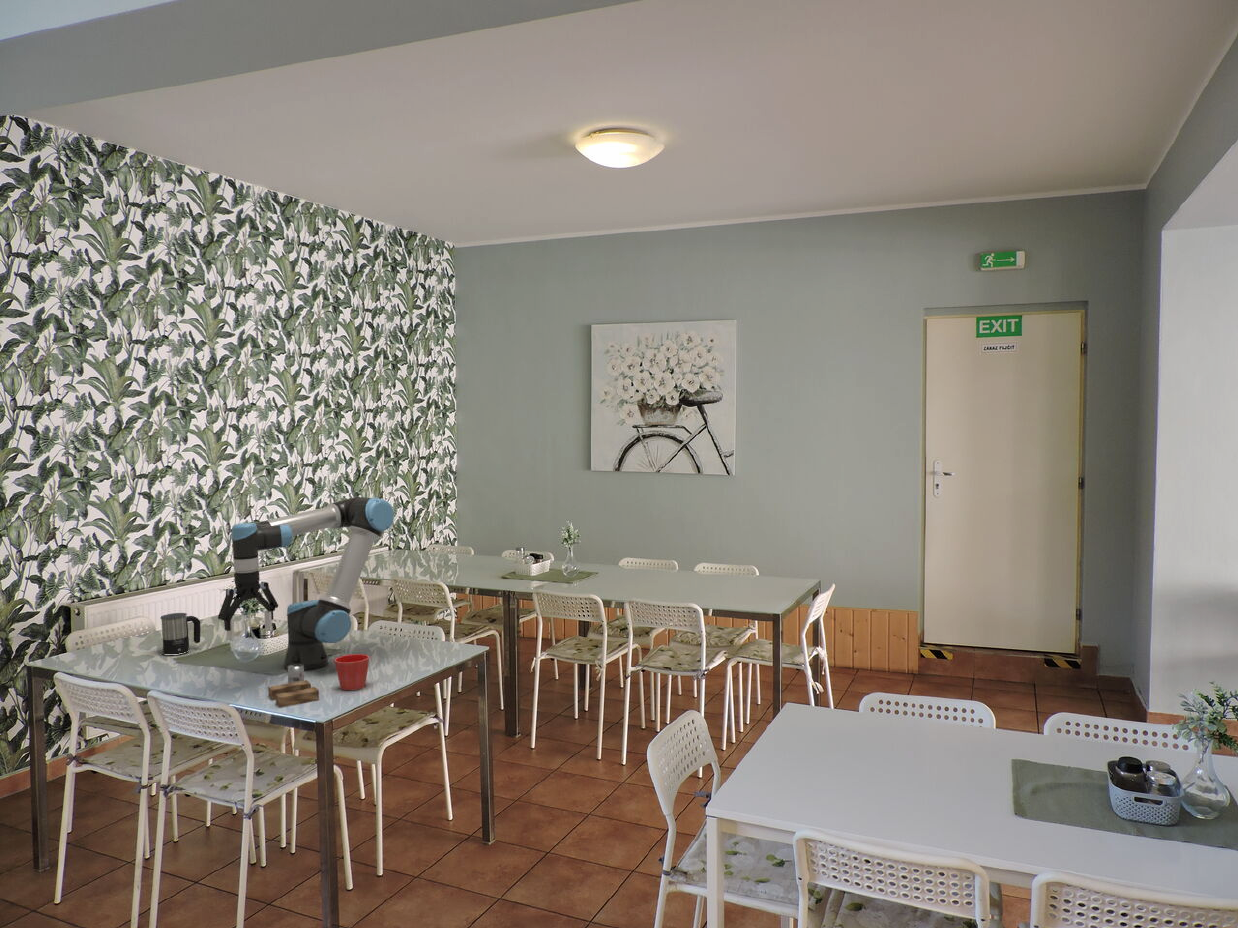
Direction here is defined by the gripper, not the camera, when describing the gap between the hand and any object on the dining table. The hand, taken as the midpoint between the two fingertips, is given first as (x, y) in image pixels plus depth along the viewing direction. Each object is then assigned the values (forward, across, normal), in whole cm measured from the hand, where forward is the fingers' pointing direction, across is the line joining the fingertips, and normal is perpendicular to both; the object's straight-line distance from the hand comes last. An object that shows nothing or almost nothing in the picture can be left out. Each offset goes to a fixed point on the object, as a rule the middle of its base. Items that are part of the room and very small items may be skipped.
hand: (250, 635), depth 289 cm
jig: (+18, -2, +18) cm, 26 cm away
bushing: (+19, -10, +8) cm, 23 cm away
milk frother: (+19, -15, -73) cm, 77 cm away
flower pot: (+19, -20, +25) cm, 37 cm away
